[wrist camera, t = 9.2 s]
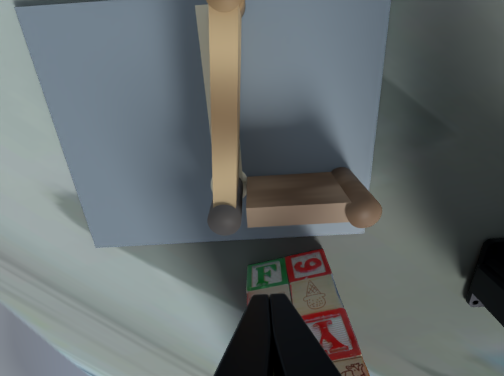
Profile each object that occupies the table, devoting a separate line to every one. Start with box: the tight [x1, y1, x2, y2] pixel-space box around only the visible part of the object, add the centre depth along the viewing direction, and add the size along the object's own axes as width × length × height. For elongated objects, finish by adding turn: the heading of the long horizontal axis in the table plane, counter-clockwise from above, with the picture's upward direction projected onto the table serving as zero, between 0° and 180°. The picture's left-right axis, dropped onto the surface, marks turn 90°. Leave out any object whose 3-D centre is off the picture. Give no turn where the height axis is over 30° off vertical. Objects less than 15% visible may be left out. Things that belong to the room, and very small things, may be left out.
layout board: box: [14, 0, 391, 248], centre depth 19 cm, size 20×16×1 cm
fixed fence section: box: [246, 167, 382, 228], centre depth 18 cm, size 7×2×5 cm, turn 93°
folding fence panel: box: [206, 0, 245, 236], centre depth 16 cm, size 12×2×5 cm, turn 178°
